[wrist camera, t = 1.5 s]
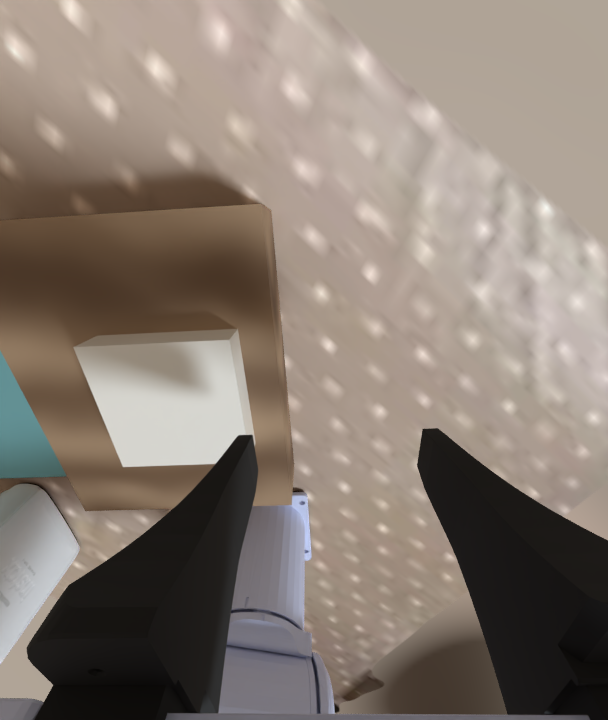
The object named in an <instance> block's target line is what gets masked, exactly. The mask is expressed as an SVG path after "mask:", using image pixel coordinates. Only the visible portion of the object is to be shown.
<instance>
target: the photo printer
mask: <svg viewBox="0 0 608 720" xmlns="http://www.w3.org/2000/svg"><path fill="white" fill-rule="evenodd" d="M78 552H79V545H78V543H77V541H76V539H75V537H74V535H73V533H72V532H71V530H70V528H69V527H68V525H67V523H66V522H65V520H64V518H63V517H62V515H61V514H60V512H59V511H58V509H57V507H56V506H55V504H54V503H53V501H52V500H51V498H50V497H49V496H48V494H47V493H46V492H45V491H44V490H43V489H41V488H40V487H39V486H37V485H33V484H17V485H15V486H13V487H12V488H10V489H9V490H5V491H4V492H2V493H1V494H0V664H1V662H2V661H3V660H4V658H5V657H6V656H7V654H8V653H9V651H10V650H11V649H12V647H13V646H14V644H15V643H16V642H17V640H18V639H19V637H20V636H21V635H22V633H23V632H24V630H25V629H26V627H27V626H28V625H29V623H30V622H31V620H32V619H33V617H34V616H35V614H36V613H37V612H38V610H39V609H40V608H41V606H42V605H43V603H44V602H45V600H46V599H47V598H48V596H49V595H50V593H51V592H52V591H53V589H54V588H55V586H56V585H57V584H58V582H59V581H60V579H61V578H62V576H63V575H64V574H65V572H66V571H67V569H68V568H69V566H70V565H71V563H72V562H73V561H74V559H75V558H76V556H77V554H78Z"/></svg>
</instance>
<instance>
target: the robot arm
mask: <svg viewBox="0 0 608 720" xmlns="http://www.w3.org/2000/svg"><path fill="white" fill-rule="evenodd" d="M417 467H418V470H419V473H420V476H421V479H422V482H423V485H424V488H425V490H426V493H427V495H428V497H429V499H430V501H431V503H432V506H433V508H434V510H435V512H436V514H437V516H438V518H439V520H440V523H441V525H442V527H443V529H444V531H445V533H446V535H447V537H448V539H449V542H450V544H451V546H452V548H453V551H454V553H455V555H456V558H457V560H458V563H459V566H460V569H461V571H462V574H463V577H464V579H465V582H466V585H467V588H468V590H469V593H470V596H471V599H472V602H473V605H474V608H475V611H476V614H477V616H478V619H479V622H480V626H481V629H482V632H483V635H484V638H485V641H486V644H487V647H488V650H489V653H490V656H491V660H492V663H493V666H494V669H495V673H496V676H497V679H498V683H499V686H500V689H501V693H502V696H503V700H504V703H505V707H506V710H507V714H508V715H450V714H447V715H445V714H439V715H438V714H434V715H433V714H335V712H334V700H333V692H332V685H331V681H330V677H329V674H328V671H327V669H326V667H325V665H324V662H323V660H322V658H321V656H320V655H319V654H318V653H315V652H312V634H311V633H310V632H305V631H304V569H305V560H310V559H311V542H310V528H309V513H308V499H307V494H306V493H304V492H292V505H277V506H253V501H254V497H255V493H256V486H257V478H258V464H257V458H256V452H255V446H254V440H253V435H238V436H237V437H236V439H235V440H234V441H233V442H232V444H231V445H230V446H229V448H228V449H227V450H226V451H225V453H224V454H223V455H222V457H221V458H220V459H219V460H218V461H217V463H216V464H215V465H214V466H213V467H212V469H211V470H210V471H209V472H208V473H207V474H206V476H205V477H204V478H203V479H202V480H201V481H200V482H199V483H198V484H197V485H196V487H195V488H194V489H193V490H192V491H191V492H190V493H189V494H188V495H187V496H186V497H185V498H184V499H183V500H182V501H181V502H180V503H179V504H178V505H177V506H176V507H174V508H173V509H172V510H171V511H170V512H169V513H168V514H167V515H166V516H164V517H163V518H162V519H161V520H160V521H158V522H157V523H156V524H155V525H154V526H152V527H151V528H150V529H149V530H148V531H146V532H145V533H144V534H143V535H141V536H140V537H139V538H137V539H136V540H135V541H133V542H132V543H131V544H129V545H128V546H127V547H125V548H124V549H123V550H121V551H120V552H118V553H117V554H116V555H114V556H113V557H111V558H110V559H108V560H107V561H105V562H104V563H102V564H101V565H99V566H98V567H96V568H95V569H93V570H92V571H90V572H89V573H87V574H86V575H84V576H82V577H81V578H79V579H78V580H76V581H75V582H73V583H71V584H70V585H69V586H68V587H67V588H66V590H65V591H64V592H63V594H62V595H61V597H60V598H59V599H58V601H57V602H56V604H55V605H54V607H53V608H52V610H51V611H50V613H49V614H48V616H47V617H46V619H45V620H44V622H43V623H42V625H41V626H40V628H39V629H38V631H37V632H36V634H35V635H34V637H33V638H32V640H31V642H30V643H29V645H28V647H27V654H28V659H29V660H30V662H31V663H32V664H33V665H34V666H35V667H36V668H37V669H38V670H39V671H40V672H41V673H42V674H43V675H44V676H45V677H46V678H47V679H48V680H49V681H50V682H51V683H52V684H53V687H52V689H51V691H50V692H49V694H48V696H47V698H46V700H45V701H44V702H42V701H39V700H35V699H28V698H27V699H26V698H0V720H608V540H606V539H604V538H602V537H600V536H597V535H596V534H594V533H592V532H590V531H588V530H586V529H584V528H582V527H580V526H579V525H577V524H575V523H573V522H571V521H569V520H568V519H566V518H564V517H562V516H560V515H559V514H557V513H555V512H553V511H552V510H550V509H548V508H547V507H545V506H543V505H541V504H540V503H538V502H537V501H535V500H534V499H532V498H530V497H529V496H527V495H526V494H524V493H522V492H521V491H519V490H518V489H516V488H515V487H513V486H512V485H510V484H509V483H507V482H506V481H505V480H503V479H502V478H500V477H499V476H498V475H496V474H495V473H493V472H492V471H491V470H489V469H488V468H487V467H485V466H484V465H483V464H481V463H480V462H479V461H478V460H476V459H475V458H474V457H472V456H471V455H470V454H469V453H467V452H466V451H465V450H464V449H462V448H461V447H460V446H459V445H458V444H456V443H455V442H454V441H453V440H451V439H450V438H449V437H448V436H447V435H445V434H444V433H443V432H442V431H440V430H439V429H438V428H436V429H423V431H422V437H421V444H420V451H419V457H418V464H417Z"/></svg>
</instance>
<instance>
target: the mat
mask: <svg viewBox="0 0 608 720" xmlns="http://www.w3.org/2000/svg"><path fill="white" fill-rule="evenodd" d="M61 476H67V475H66V474H65V472H64V470H63V468H62V466H61V464H60V462H59V460H58V458H57V457H56V455H55V453H54V451H53V449H52V447H51V445H50V443H49V441H48V440H47V438H46V436H45V434H44V432H43V430H42V428H41V426H40V424H39V423H38V421H37V419H36V417H35V415H34V413H33V411H32V409H31V407H30V406H29V404H28V402H27V400H26V398H25V396H24V394H23V392H22V390H21V389H20V387H19V385H18V383H17V381H16V379H15V377H14V375H13V373H12V372H11V370H10V368H9V366H8V364H7V362H6V360H5V358H4V356H3V355H2V353H1V351H0V478H30V477H61Z"/></svg>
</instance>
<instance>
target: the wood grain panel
mask: <svg viewBox="0 0 608 720" xmlns="http://www.w3.org/2000/svg"><path fill="white" fill-rule="evenodd" d="M222 329H238V334H239V340H240V346H241V353H242V359H243V366H244V372H245V378H246V385H247V391H248V398H249V404H250V410H251V417H252V423H253V430H254V436H255V442H256V443H255V452H256V458H257V464H258V478H257V486H256V493H255V497H254V501H253V506H277V505H292V492H293V475H294V459H293V448H292V437H291V426H290V415H289V404H288V393H287V382H286V371H285V360H284V348H283V337H282V326H281V315H280V304H279V293H278V282H277V271H276V260H275V249H274V238H273V226H272V215H271V210H270V209H268V208H267V207H265V206H264V205H262V204H248V205H232V206H217V207H201V208H185V209H169V210H153V211H138V212H122V213H106V214H90V215H74V216H59V217H43V218H27V219H11V220H0V351H1V353H2V355H3V356H4V358H5V360H6V362H7V364H8V366H9V368H10V370H11V372H12V373H13V375H14V377H15V379H16V381H17V383H18V385H19V387H20V389H21V390H22V392H23V394H24V396H25V398H26V400H27V402H28V404H29V406H30V407H31V409H32V411H33V413H34V415H35V417H36V419H37V421H38V423H39V424H40V426H41V428H42V430H43V432H44V434H45V436H46V438H47V440H48V441H49V443H50V445H51V447H52V449H53V451H54V453H55V455H56V457H57V458H58V460H59V462H60V464H61V466H62V468H63V470H64V472H65V474H66V475H67V477H68V479H69V481H70V483H71V485H72V487H73V489H74V491H75V492H76V494H77V496H78V498H79V500H80V502H81V504H82V506H83V508H84V509H85V511H102V510H137V509H172V508H174V507H176V506H177V505H178V504H179V503H180V502H181V501H182V500H183V499H184V498H185V497H186V496H187V495H188V494H189V493H190V492H191V491H192V490H193V489H194V488H195V487H196V485H197V484H198V483H199V482H200V481H201V480H202V479H203V478H204V477H205V476H206V474H207V473H208V472H209V471H210V470H211V469H212V467H213V466H214V465H215V464H199V465H170V466H140V467H123V466H122V464H121V461H120V459H119V456H118V454H117V452H116V449H115V447H114V444H113V442H112V440H111V437H110V435H109V432H108V430H107V427H106V425H105V423H104V420H103V418H102V415H101V413H100V411H99V408H98V406H97V403H96V401H95V399H94V396H93V394H92V391H91V389H90V386H89V384H88V382H87V379H86V377H85V374H84V372H83V370H82V367H81V365H80V362H79V360H78V358H77V355H76V353H75V350H74V348H73V347H75V346H77V345H79V344H81V343H83V342H85V341H87V340H89V339H91V338H93V337H96V336H100V335H120V334H140V333H161V332H181V331H202V330H222Z"/></svg>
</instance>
